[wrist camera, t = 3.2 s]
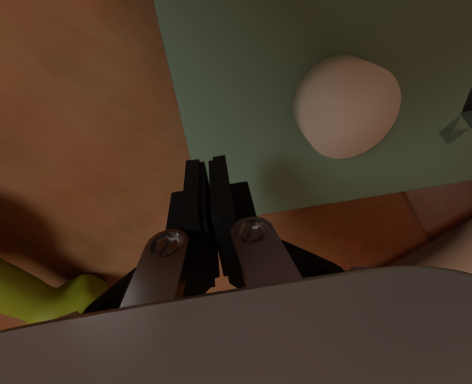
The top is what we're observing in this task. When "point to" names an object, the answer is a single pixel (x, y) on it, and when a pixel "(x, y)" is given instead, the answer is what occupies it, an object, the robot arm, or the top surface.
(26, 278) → the dumbbell
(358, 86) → the pink rounded pebble
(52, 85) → the top surface
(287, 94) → the board
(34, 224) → the top surface
